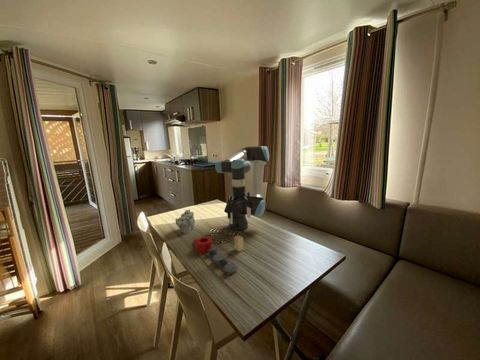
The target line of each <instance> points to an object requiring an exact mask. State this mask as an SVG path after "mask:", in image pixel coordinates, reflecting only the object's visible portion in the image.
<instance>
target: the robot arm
mask: <svg viewBox="0 0 480 360" xmlns="http://www.w3.org/2000/svg"><path fill="white" fill-rule="evenodd" d="M269 161H270V153H269V148H268V147H267V146H265V145H264V146H263V145H261V146H260V145H259V146H258V145H257V146H256V145H255V146H253V145H252V146H245V147H243V148H241V149H239V150H237V151H236V152H235V153H234V154H233V155H231V156H229V157H228V158H226V159H224V160H219V161H216V162H215V172H217V174H218V173H219V174H220V173H221V174H231V185H232V195H228V197H227V202H226V205H225V207H224V210H223V212H224V213H226V214H227V219H228V228H229V229H230V230H233V231H243V230H246V229H247V228H249V222H248V219H247V218H249V219H252V218H251V217H252V216H255V217H257V216H259V217H260V216H263V215H264V212H265V210H266V201H265V199H264V197H263V183H264V174H265V173H264V172H265V165H267V162H269ZM252 165H253V166H252ZM251 169H252V172H251V173H252V176H251V184H250V185H251V187H250V192H249V191H246V175H245V174H246V173H249V172H250V171H251Z"/></svg>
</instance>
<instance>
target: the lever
mask: <svg viewBox="0 0 480 360" xmlns="http://www.w3.org/2000/svg"><path fill="white" fill-rule="evenodd" d="M212 241H213V239H212V238H211V237H209V236H202V237H199V238H195V239H193V245H194V247H195V250H196V252H197V254H199V255H207V249H209V248H211V247H213V242H212Z"/></svg>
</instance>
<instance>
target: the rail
mask: <svg viewBox="0 0 480 360" xmlns="http://www.w3.org/2000/svg"><path fill="white" fill-rule="evenodd" d="M206 256H208V258H209V259H211V260H212V261H213V262H214V263H215V264H216V265H217V266H218V268H220V269H221V270H222V271H223V272H224V273H225V274H226V275H227V276H230V275H232V274H234V273H236V272H237V264H236V263H234V262H230V263H229V262H228V257H227V256H226V255H225V254H224V253H223V252H219V253H218V249H217V248H216V247H215V246H212V247H211V248H209V249H207V254H206Z"/></svg>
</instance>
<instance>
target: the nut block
mask: <svg viewBox="0 0 480 360" xmlns="http://www.w3.org/2000/svg"><path fill="white" fill-rule="evenodd" d="M233 240H234V241H233V245H234V247H233V248H234V250H235V251H236V252H238V253H240V252H241V251H245V250H244V247H245V246H244V237H243V236H241V235H237V236H234V237H233Z"/></svg>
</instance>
